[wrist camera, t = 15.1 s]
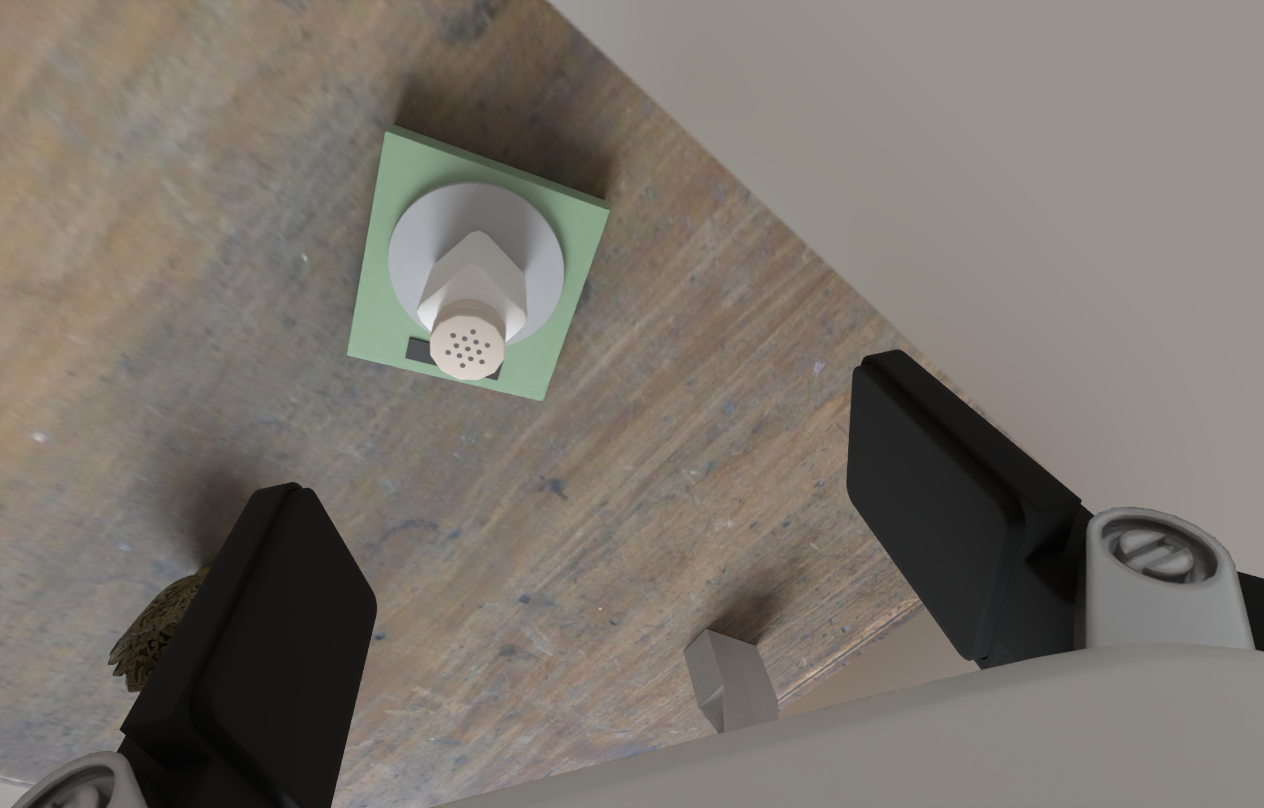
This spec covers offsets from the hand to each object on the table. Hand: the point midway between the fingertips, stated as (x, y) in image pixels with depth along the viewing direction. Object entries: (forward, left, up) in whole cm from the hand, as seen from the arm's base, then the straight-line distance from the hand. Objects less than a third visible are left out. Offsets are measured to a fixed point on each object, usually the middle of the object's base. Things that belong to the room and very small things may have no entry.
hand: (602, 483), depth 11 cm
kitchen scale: (+7, -2, -28) cm, 29 cm away
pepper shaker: (+6, -2, -26) cm, 26 cm away
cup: (+36, -14, -28) cm, 48 cm away
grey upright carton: (+38, +30, -28) cm, 56 cm away
